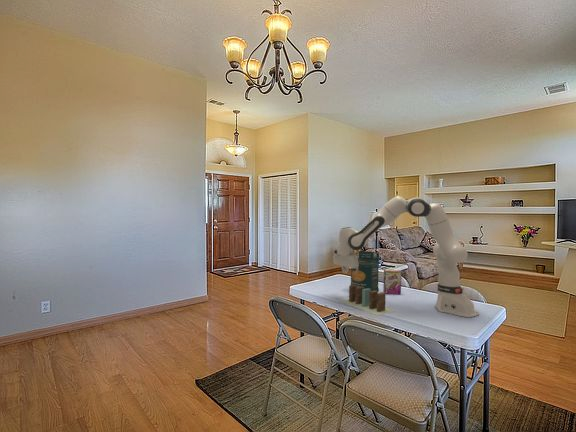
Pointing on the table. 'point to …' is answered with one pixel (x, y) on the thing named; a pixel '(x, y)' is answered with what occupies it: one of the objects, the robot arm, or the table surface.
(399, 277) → the candy bar box
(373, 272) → the donation box
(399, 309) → the table surface
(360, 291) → the tile
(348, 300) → the felt mat
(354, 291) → the tile
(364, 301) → the teal tile
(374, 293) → the tile
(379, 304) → the tile
